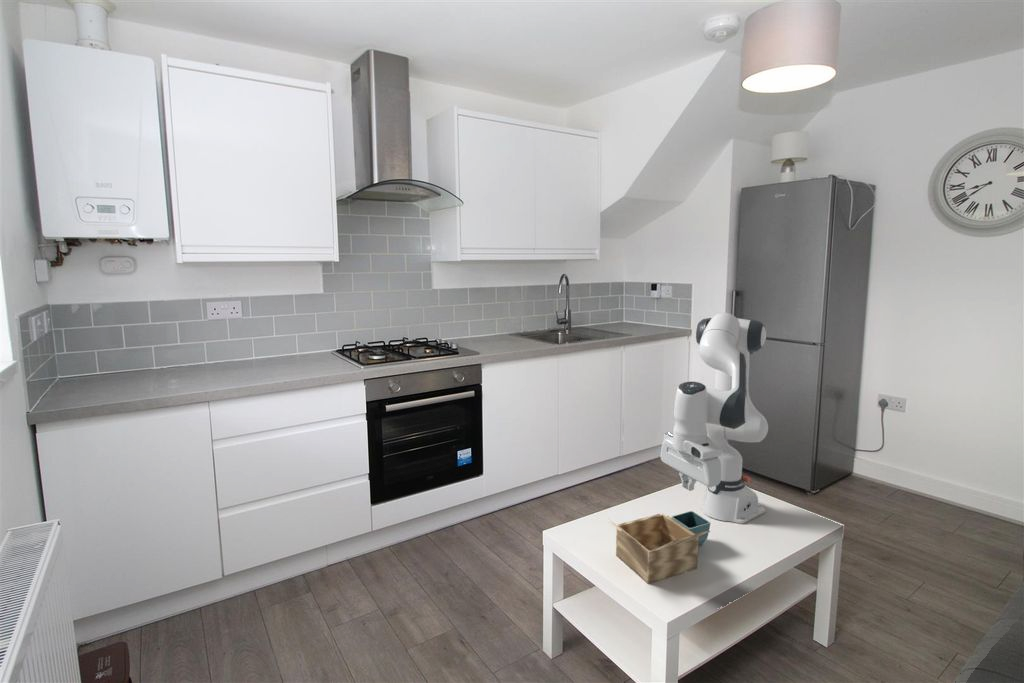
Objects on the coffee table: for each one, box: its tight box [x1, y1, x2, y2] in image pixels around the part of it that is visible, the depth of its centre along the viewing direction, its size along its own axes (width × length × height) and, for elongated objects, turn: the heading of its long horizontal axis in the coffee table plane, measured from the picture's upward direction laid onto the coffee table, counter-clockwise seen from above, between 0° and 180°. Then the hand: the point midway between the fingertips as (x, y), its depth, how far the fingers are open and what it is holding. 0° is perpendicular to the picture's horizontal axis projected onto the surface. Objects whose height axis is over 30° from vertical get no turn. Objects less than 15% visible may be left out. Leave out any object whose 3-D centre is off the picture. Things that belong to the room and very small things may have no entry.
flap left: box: [656, 530, 711, 550], centre depth 151 cm, size 13×9×1 cm
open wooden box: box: [615, 513, 699, 585], centre depth 163 cm, size 19×17×10 cm
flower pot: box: [671, 510, 711, 548], centre depth 172 cm, size 9×9×9 cm
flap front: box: [604, 517, 640, 545], centre depth 156 cm, size 9×8×1 cm
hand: (687, 488), depth 149 cm, fingers closed
